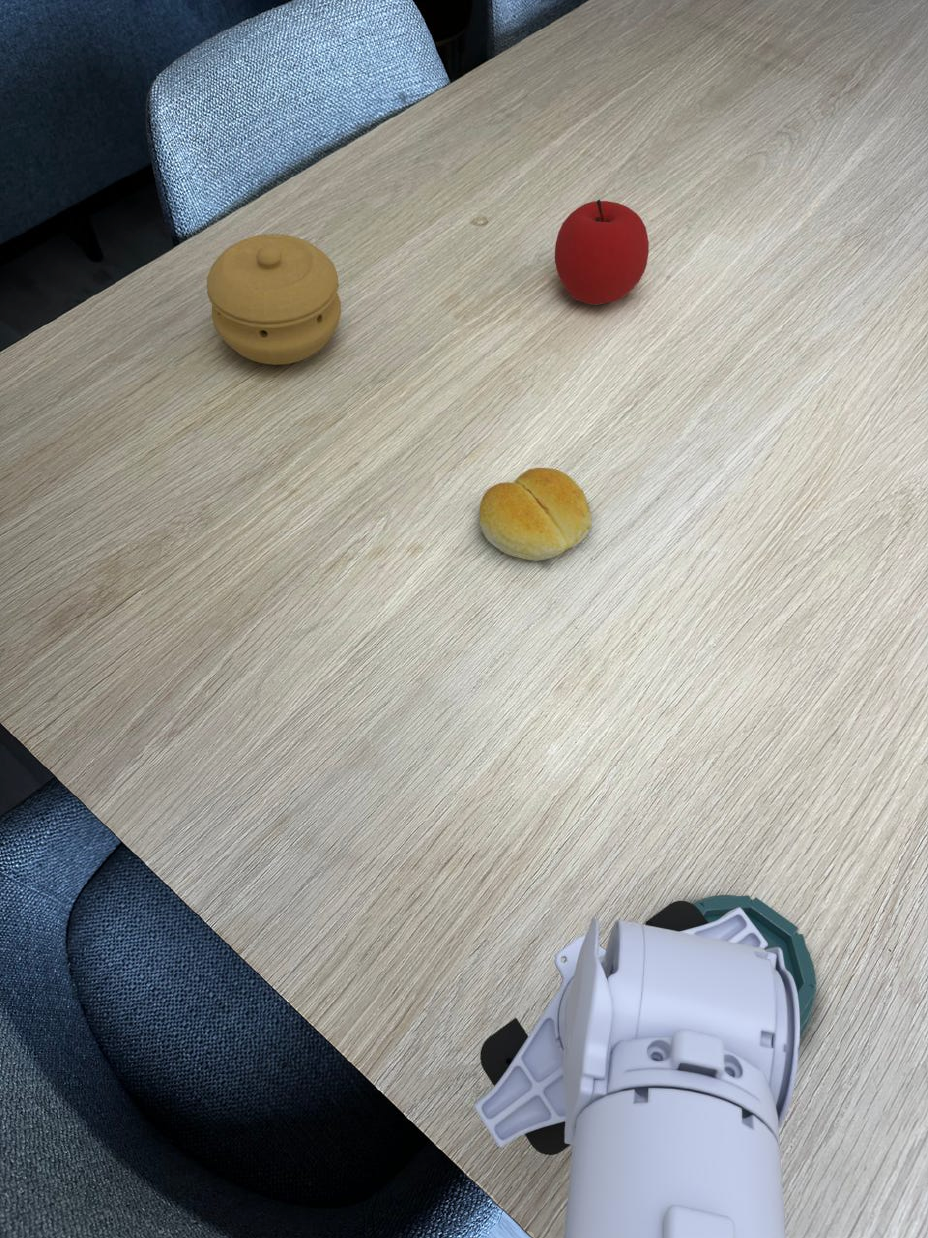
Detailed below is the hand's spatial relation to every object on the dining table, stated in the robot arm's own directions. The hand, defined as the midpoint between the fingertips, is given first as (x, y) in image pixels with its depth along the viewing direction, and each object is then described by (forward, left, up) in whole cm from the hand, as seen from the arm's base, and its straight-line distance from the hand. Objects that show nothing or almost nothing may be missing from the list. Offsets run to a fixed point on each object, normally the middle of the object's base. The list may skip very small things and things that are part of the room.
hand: (602, 1021), depth 53 cm
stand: (+4, -10, -9) cm, 14 cm away
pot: (+66, +18, -10) cm, 69 cm away
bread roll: (+42, -3, -10) cm, 43 cm away
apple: (+72, -13, -10) cm, 74 cm away
